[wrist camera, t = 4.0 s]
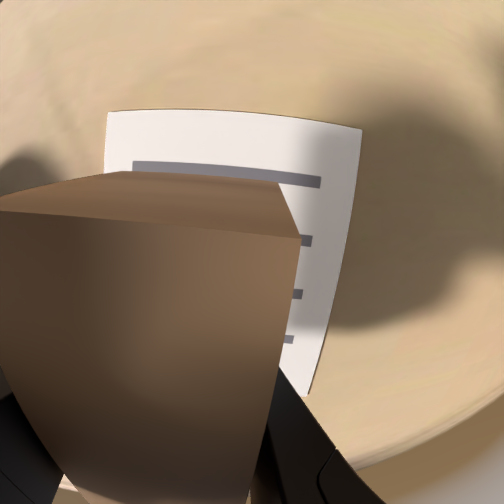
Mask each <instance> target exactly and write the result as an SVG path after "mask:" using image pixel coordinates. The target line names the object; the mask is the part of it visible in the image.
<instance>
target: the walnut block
mask: <svg viewBox="0 0 504 504" xmlns="http://www.w3.org/2000/svg"><path fill="white" fill-rule="evenodd" d="M301 241H302V239H301V236H300V234H299V231H298V229H297V226H296V224H295V222H294V219H293V217H292V214H291V212H290V210H289V207H288V205H287V202H286V200H285V198H284V195H283V193H282V191H281V188H280V186H279V184H278V182H273V181H264V180H255V179H245V178H235V177H224V176H212V175H199V174H184V173H167V172H144V171H118V172H111V173H105V174H99V175H93V176H88V177H82V178H77V179H72V180H67V181H62V182H57V183H53V184H48V185H44V186H39V187H35V188H31V189H27V190H23V191H19V192H15V193H11V194H7V195H4V196H0V366H1V368H2V371H3V373H4V375H5V377H6V379H7V381H8V384H9V386H10V388H11V390H12V392H13V394H14V396H15V398H16V399H17V401H18V403H19V405H20V407H21V409H22V411H23V412H24V414H25V416H26V418H27V419H28V421H29V423H30V424H31V426H32V428H33V429H34V431H35V433H36V434H37V436H38V437H39V439H40V440H41V442H42V443H43V445H44V446H45V448H46V449H47V451H48V452H49V454H50V455H51V457H52V458H53V459H54V461H55V462H56V463H57V465H58V466H59V468H60V469H61V470H62V471H63V473H64V474H65V475H66V477H67V478H68V479H69V480H70V482H71V483H72V484H73V485H74V486H75V488H76V489H77V490H78V491H79V492H80V493H81V495H82V496H83V497H84V498H85V499H86V500H87V501H88V502H89V504H245V503H246V500H247V496H248V493H249V489H250V486H251V482H252V478H253V474H254V471H255V467H256V463H257V459H258V455H259V451H260V447H261V443H262V439H263V435H264V431H265V426H266V422H267V418H268V414H269V409H270V405H271V400H272V396H273V391H274V387H275V382H276V378H277V373H278V368H279V363H280V358H281V353H282V348H283V343H284V338H285V333H286V328H287V323H288V317H289V312H290V307H291V301H292V295H293V290H294V284H295V278H296V272H297V266H298V260H299V254H300V247H301Z"/></svg>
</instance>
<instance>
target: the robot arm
mask: <svg viewBox="0 0 504 504" xmlns="http://www.w3.org/2000/svg"><path fill="white" fill-rule="evenodd" d="M63 475H64V473H63V471H62V470H61V469H60V468H59V466H58V465H57V463H56V462H55V461H54V459H53V458H52V457H51V455H50V454H49V452H48V451H47V449H46V448H45V446H44V445H43V443H42V442H41V440H40V439H39V437H38V436H37V434H36V433H35V431H34V429H33V428H32V426H31V424H30V423H29V421H28V419H27V418H26V416H25V414H24V412H23V411H22V409H21V407H20V405H19V403H18V401H17V399H16V398H15V396H14V394H13V392H12V390H11V388H10V386H9V384H8V381H7V379H6V377H5V375H4V373H3V371H2V368H1V366H0V504H52V502H53V499H54V496H55V494H56V492H57V489H58V487H59V484H60V482H61V480H62V477H63ZM250 494H251V504H386V503H385V502H384V501H383V500H382V499H381V498H379V496H378V495H376V494H375V493H374V492H373V491H372V490H371V489H370V488H369V486H367V484H366V483H365V482H364V481H363V480H362V479H361V478H360V477H359V476H358V475H357V473H356V472H355V471H354V470H353V468H352V467H351V466H350V465H349V464H348V462H347V461H346V460H345V458H344V457H343V456H342V454H341V453H340V452H339V450H338V449H336V446H335V445H334V444H333V442H332V441H331V440H330V438H329V437H328V435H327V434H326V433H325V431H324V430H323V429H322V427H321V426H320V424H319V423H318V422H317V420H316V419H315V417H314V416H313V415H312V413H311V412H310V410H309V409H308V407H307V406H306V405H305V403H304V402H303V400H302V399H301V397H300V396H299V395H298V393H297V392H296V390H295V389H294V387H293V386H292V384H291V383H290V382H289V380H288V379H287V377H286V376H285V374H284V373H283V371H282V370H281V368H280V367H279V368H278V373H277V378H276V382H275V387H274V391H273V396H272V400H271V405H270V409H269V414H268V418H267V422H266V426H265V431H264V435H263V439H262V443H261V447H260V451H259V455H258V459H257V463H256V467H255V471H254V474H253V478H252V482H251V486H250Z"/></svg>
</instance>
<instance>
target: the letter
mask: <svg viewBox="0 0 504 504" xmlns="http://www.w3.org/2000/svg"><path fill="white" fill-rule="evenodd" d="M361 139H362V130H361V129H356V128H351V127H346V126H341V125H336V124H330V123H325V122H319V121H313V120H306V119H299V118H292V117H285V116H276V115H267V114H257V113H246V112H232V111H215V110H136V111H118V112H108V119H107V129H106V141H105V157H104V174H105V173H111V172H118V171H144V172H167V173H184V174H199V175H212V176H224V177H235V178H245V179H255V180H264V181H273V182H278V184H279V186H280V188H281V191H282V193H283V195H284V198H285V200H286V202H287V205H288V207H289V210H290V212H291V214H292V217H293V219H294V222H295V224H296V226H297V229H298V231H299V234H300V236H301V239H302V241H301V247H300V254H299V260H298V266H297V272H296V278H295V284H294V290H293V295H292V301H291V307H290V312H289V317H288V323H287V328H286V333H285V338H284V343H283V348H282V353H281V358H280V363H279V367H280V368H281V370H282V371H283V373H284V374H285V376H286V377H287V379H288V380H289V382H290V383H291V384H292V386H293V387H294V389H295V390H296V392H297V393H298V395H299V396H303V397H307V394H308V391H309V387H310V384H311V381H312V378H313V374H314V371H315V368H316V364H317V361H318V357H319V354H320V350H321V347H322V343H323V340H324V336H325V332H326V328H327V324H328V321H329V317H330V313H331V309H332V304H333V300H334V296H335V292H336V287H337V283H338V279H339V274H340V269H341V265H342V260H343V255H344V250H345V245H346V240H347V234H348V229H349V223H350V218H351V212H352V206H353V199H354V193H355V186H356V179H357V172H358V165H359V157H360V148H361Z"/></svg>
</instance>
